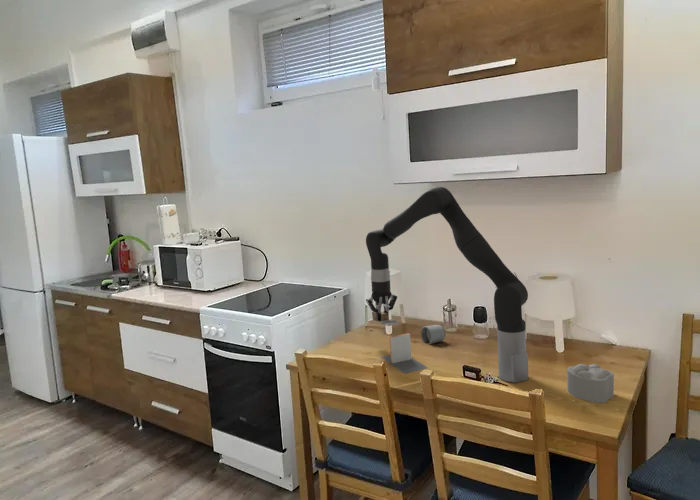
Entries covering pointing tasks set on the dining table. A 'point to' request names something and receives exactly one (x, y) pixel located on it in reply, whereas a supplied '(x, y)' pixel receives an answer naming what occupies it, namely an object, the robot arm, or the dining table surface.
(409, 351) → the tile
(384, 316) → the turner
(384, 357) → the mat
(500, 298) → the robot arm
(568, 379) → the lumpy-topped squat cylinder
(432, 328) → the ceramic mug
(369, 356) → the dining table surface
